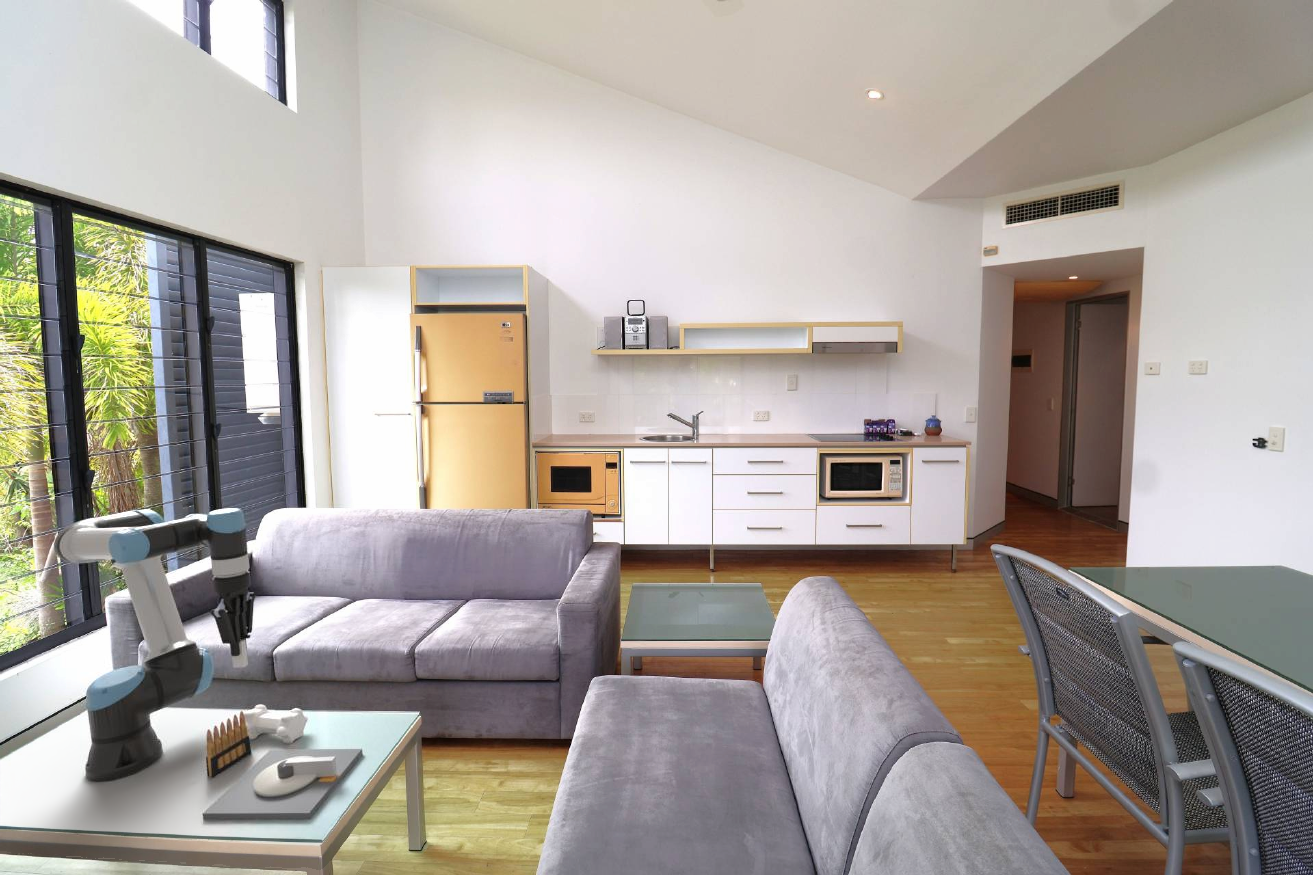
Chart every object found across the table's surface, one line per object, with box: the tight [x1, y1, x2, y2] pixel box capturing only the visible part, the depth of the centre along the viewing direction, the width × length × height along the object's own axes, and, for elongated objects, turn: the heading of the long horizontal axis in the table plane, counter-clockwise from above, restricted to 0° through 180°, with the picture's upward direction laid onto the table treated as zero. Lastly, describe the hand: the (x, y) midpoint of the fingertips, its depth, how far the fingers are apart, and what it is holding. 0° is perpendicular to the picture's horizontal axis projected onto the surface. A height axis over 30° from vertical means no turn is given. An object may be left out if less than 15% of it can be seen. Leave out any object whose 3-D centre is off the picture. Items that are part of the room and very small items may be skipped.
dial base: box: [202, 748, 363, 821], centre depth 154 cm, size 24×24×2 cm
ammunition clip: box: [205, 710, 252, 779], centre depth 162 cm, size 11×2×12 cm, turn 163°
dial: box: [253, 756, 337, 797], centre depth 154 cm, size 18×14×4 cm
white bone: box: [243, 704, 309, 745], centre depth 174 cm, size 15×9×8 cm, turn 77°
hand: (240, 666), depth 159 cm, fingers closed
